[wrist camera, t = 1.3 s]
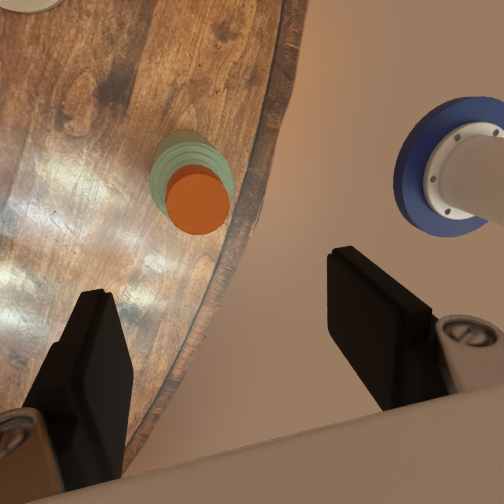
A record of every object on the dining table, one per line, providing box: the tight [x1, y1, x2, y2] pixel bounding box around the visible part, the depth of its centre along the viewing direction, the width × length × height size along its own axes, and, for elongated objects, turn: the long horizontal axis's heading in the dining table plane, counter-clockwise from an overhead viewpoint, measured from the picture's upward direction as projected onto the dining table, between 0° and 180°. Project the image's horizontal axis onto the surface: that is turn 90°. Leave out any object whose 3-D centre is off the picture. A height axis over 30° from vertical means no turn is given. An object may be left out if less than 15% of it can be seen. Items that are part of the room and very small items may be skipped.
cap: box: [165, 164, 230, 235], centre depth 24 cm, size 4×4×4 cm
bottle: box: [150, 130, 234, 218], centre depth 31 cm, size 6×6×18 cm
